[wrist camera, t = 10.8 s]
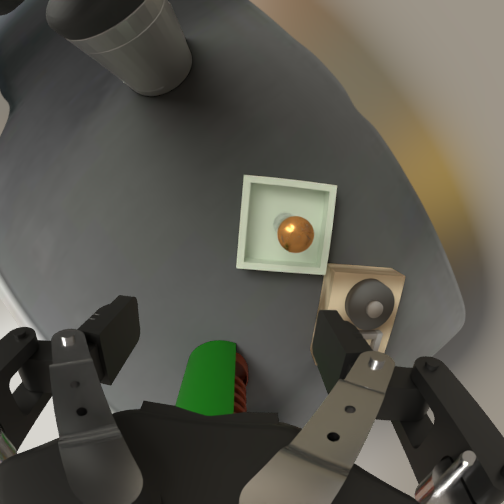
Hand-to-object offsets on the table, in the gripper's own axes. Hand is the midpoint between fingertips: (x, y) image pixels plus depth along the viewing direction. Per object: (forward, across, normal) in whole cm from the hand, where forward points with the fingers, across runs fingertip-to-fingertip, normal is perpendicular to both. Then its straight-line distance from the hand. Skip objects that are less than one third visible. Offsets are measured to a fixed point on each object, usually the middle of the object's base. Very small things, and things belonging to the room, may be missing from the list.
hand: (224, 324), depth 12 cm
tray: (+23, -6, -2) cm, 24 cm away
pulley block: (+23, -16, +10) cm, 30 cm away
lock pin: (+23, -6, -2) cm, 23 cm away
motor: (+23, +2, +20) cm, 31 cm away
